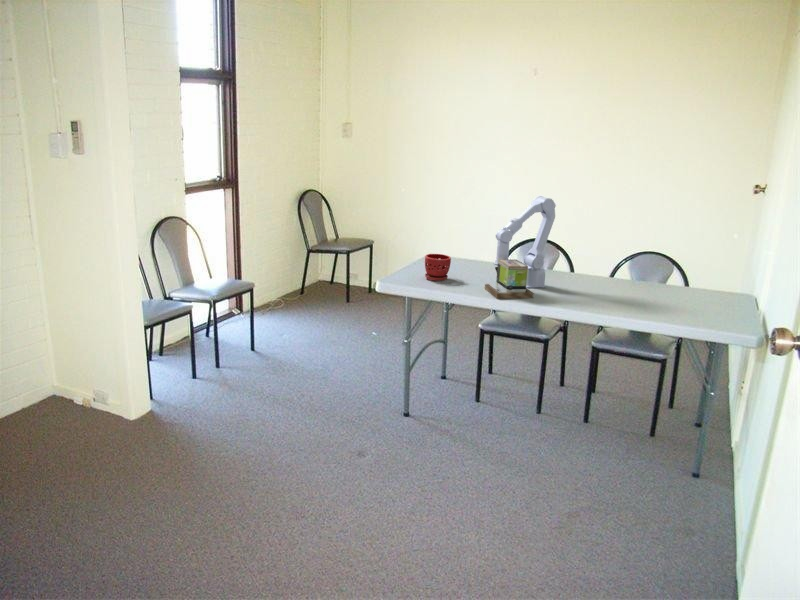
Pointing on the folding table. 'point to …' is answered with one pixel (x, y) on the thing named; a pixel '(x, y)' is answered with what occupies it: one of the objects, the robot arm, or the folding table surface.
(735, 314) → the folding table surface
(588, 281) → the folding table surface
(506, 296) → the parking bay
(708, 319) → the folding table surface
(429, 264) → the plant pot
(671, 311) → the folding table surface
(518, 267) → the tea box
